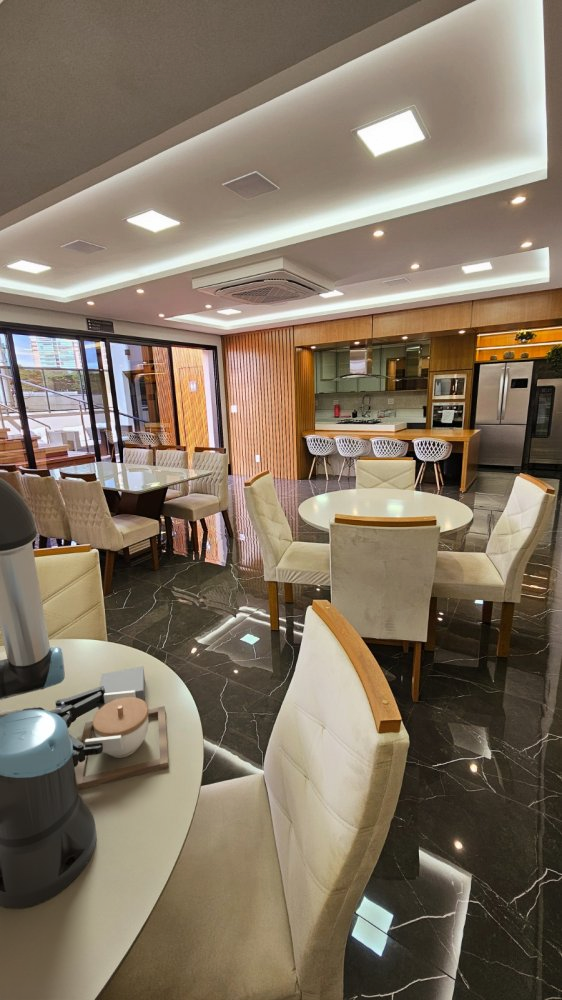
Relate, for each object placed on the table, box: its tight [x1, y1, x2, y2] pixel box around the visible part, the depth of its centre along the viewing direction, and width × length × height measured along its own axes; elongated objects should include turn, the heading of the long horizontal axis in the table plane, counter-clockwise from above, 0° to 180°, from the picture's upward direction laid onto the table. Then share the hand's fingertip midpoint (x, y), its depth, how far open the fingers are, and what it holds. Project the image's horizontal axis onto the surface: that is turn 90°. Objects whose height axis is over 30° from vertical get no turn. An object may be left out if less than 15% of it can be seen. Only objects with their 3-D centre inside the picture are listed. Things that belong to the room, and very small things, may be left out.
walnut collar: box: [75, 705, 169, 791], centre depth 90 cm, size 17×17×1 cm
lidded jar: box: [92, 697, 149, 759], centre depth 90 cm, size 11×11×9 cm
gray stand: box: [97, 666, 146, 710], centre depth 106 cm, size 10×10×4 cm
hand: (129, 717), depth 90 cm, fingers open, 13 cm apart
